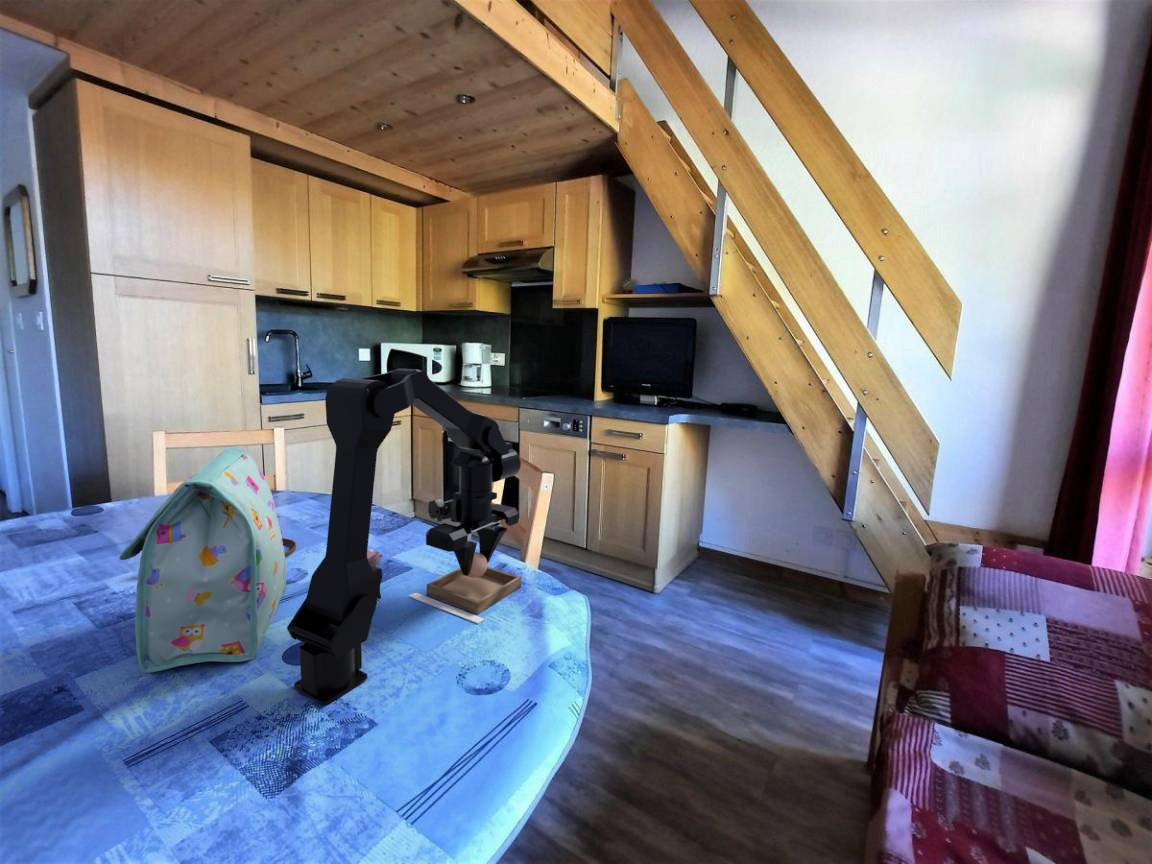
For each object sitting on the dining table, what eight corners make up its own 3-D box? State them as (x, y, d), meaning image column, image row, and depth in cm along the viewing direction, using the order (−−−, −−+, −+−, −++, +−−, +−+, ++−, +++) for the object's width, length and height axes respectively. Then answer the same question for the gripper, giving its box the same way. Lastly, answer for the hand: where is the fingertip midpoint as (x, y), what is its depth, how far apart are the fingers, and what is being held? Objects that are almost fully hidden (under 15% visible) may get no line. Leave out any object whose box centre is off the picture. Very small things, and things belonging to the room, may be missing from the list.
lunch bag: (186, 600, 85) (172, 444, 81) (296, 588, 91) (289, 441, 87) (121, 686, 64) (98, 479, 60) (270, 662, 70) (258, 473, 65)
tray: (478, 614, 84) (478, 603, 84) (426, 594, 90) (426, 584, 90) (520, 587, 95) (521, 577, 94) (472, 571, 101) (472, 561, 100)
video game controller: (344, 602, 90) (359, 571, 88) (323, 588, 90) (338, 557, 89) (376, 578, 99) (390, 550, 98) (357, 566, 100) (371, 537, 98)
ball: (475, 584, 89) (476, 560, 88) (457, 577, 91) (457, 554, 91) (492, 575, 93) (492, 552, 92) (473, 569, 95) (474, 546, 94)
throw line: (478, 624, 82) (478, 622, 82) (409, 596, 89) (409, 595, 89) (484, 619, 83) (484, 618, 83) (415, 593, 91) (415, 592, 91)
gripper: (476, 471, 101) (475, 544, 104) (402, 491, 85) (403, 577, 88) (521, 480, 96) (519, 557, 98) (451, 503, 80) (450, 595, 82)
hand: (474, 570), depth 92 cm, fingers closed on ball, 4 cm apart
